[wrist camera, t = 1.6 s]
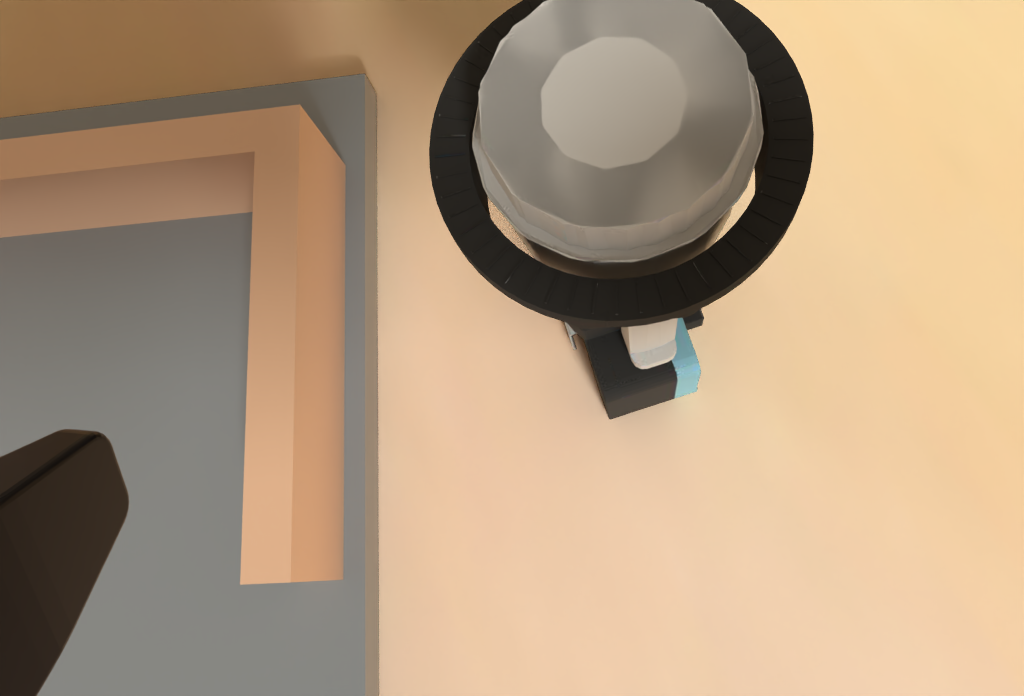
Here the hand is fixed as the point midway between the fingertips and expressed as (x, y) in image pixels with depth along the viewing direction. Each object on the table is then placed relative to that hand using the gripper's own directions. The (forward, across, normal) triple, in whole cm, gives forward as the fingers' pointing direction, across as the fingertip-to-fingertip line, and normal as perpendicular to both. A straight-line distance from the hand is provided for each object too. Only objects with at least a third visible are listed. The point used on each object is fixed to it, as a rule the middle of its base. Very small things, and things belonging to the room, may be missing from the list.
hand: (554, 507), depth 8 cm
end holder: (+10, +13, +7) cm, 18 cm away
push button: (+13, 0, +4) cm, 14 cm away
